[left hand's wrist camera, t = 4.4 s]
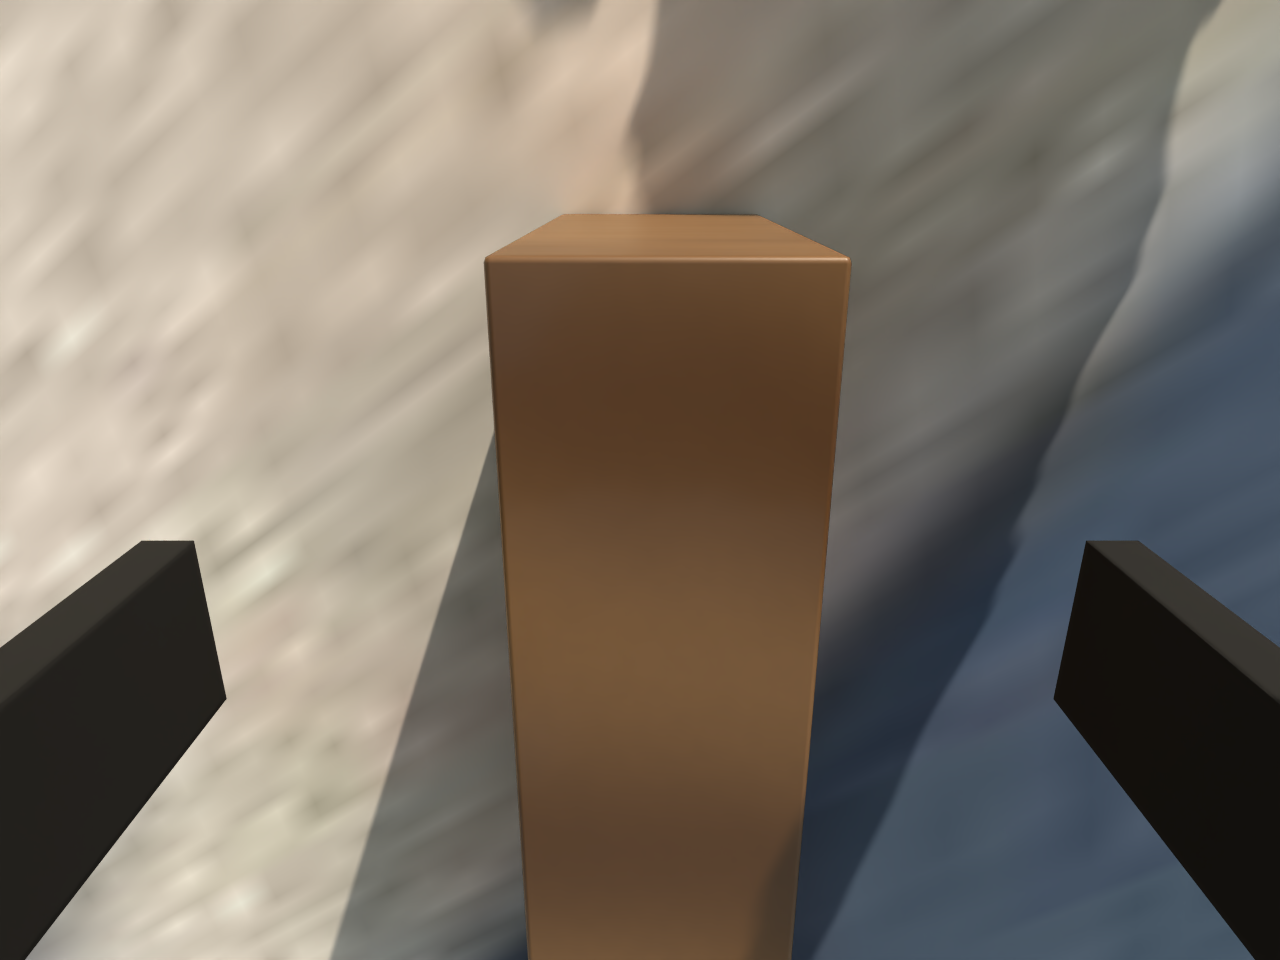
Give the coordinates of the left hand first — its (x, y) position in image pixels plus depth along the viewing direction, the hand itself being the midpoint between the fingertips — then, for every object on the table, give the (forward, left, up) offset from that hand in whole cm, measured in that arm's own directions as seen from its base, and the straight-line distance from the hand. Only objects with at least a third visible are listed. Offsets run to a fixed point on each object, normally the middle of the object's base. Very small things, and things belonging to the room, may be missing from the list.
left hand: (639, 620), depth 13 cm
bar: (+15, +26, -7) cm, 31 cm away
